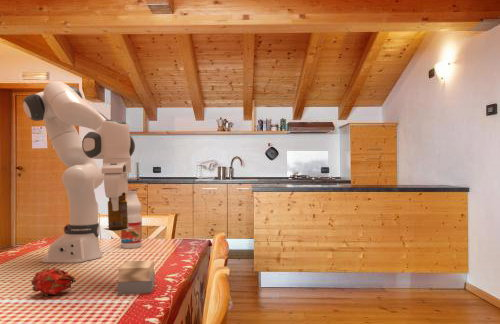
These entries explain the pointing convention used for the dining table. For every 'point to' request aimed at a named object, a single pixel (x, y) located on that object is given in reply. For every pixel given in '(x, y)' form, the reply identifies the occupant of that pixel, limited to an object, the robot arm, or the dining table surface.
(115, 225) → the condiment
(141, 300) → the dining table surface
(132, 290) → the tower block lower
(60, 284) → the dragon fruit
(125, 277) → the tower block upper
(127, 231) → the fruit juice
